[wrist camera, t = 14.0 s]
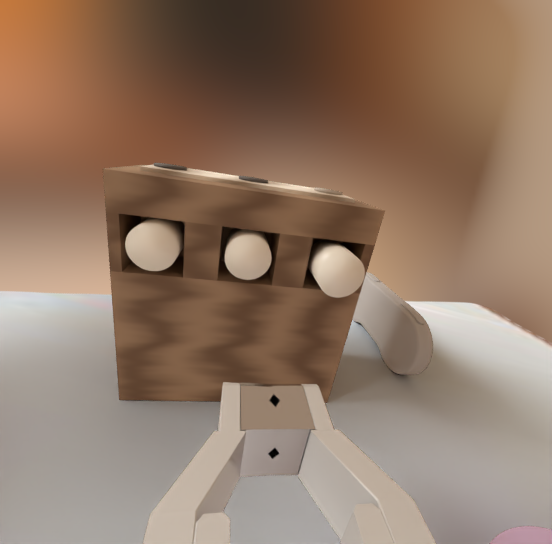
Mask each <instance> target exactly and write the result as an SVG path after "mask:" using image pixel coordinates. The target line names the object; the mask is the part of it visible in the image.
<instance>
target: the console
mask: <svg viewBox="0 0 552 544" xmlns="http://www.w3.org/2000/svg"><path fill="white" fill-rule="evenodd" d="M103 179H104V193H105V207H106V221H107V233H108V248H109V262H110V276H111V290H112V304H113V318H114V332H115V346H116V359H117V373H118V387H119V400H160V401H221V396H222V386H223V382H230V383H239V384H240V383H259V384H317V385H318V386H319V388H320V391H321V394H322V397H323V399H324V402H325V403H327V401H328V398H329V395H330V391H331V388H332V385H333V382H334V378H335V375H336V372H337V368H338V365H339V362H340V358H341V355H342V352H343V348H344V345H345V342H346V338H347V335H348V332H349V329H350V325H351V322H352V319H353V315H354V312H355V309H356V305H357V302H358V299H359V295H360V292H361V289H362V286H363V282H364V280H363V282H362V284H361V286H360V287H359V288H358V289H357V290H356V291H355V292H354V293H352V294H350V295H348V296H346V297H340V298H336V297H331V296H329V295H327V294H325V293H324V292H323V291H322V289H321V288H320V286H319V284H318V283H317V281H316V280H315V278H314V276H313V275H312V273H311V272H310V270H309V268H308V266H307V265H308V260H309V255H310V251H311V247H312V246H313V245H314V244H315V243H316V242H318V241H320V240H323V239H328V240H336V241H338V242H340V243H341V244H342V245H343V246H344V247H346V248H347V249H348V250H349V251H350V252H351V253H353V254H354V255H355V256H356V257H357V258H358V259H360V261H361V262H362V263H363V266H364V269H365V276H366V272H367V269H368V266H369V262H370V259H371V255H372V252H373V249H374V246H375V243H376V239H377V236H378V233H379V229H380V226H381V223H382V219H383V216H384V212H385V211H384V210H382V209H379V208H376V207H373V206H371V205H368V204H366V203H363V202H360V201H358V200H355V199H353V198H350V197H348V196H345V195H342V192H339V191H334V190H329V189H323V188H310V187H304V186H297V185H291V184H284V183H278V182H272V181H268V180H264V179H259V178H253V177H246V176H234V175H227V174H221V173H214V172H209V171H202V170H196V169H189V168H186V167H183V166H177V165H171V164H163V163H154V165H138V166H126V167H115V168H104V169H103ZM149 217H151V218H159V219H167V220H175V221H182V223H183V224H184V226H185V235H184V247H183V248H182V250H181V252H180V253H179V255H178V257H177V258H176V260H175V262H174V263H173V264H172V265H171V266H170V267H168V268H166V269H164V270H161V271H149V270H145V269H142V268H140V267H139V266H137V265H136V264H135V263H133V261H132V260H131V259H130V258H129V256H128V254H127V252H126V248H125V241H126V237H127V235H128V233H129V232H130V231H131V230H132V229H133V228H135V227H136V226H137V225H139V224H140V223H142V222H143V221H145V220H146V219H148V218H149ZM233 228H240V229H248V230H256V231H263V232H264V234H265V236H266V239H267V242H268V245H269V248H270V251H271V257H272V259H271V264H270V267H269V269H268V270H267V271H266V272H265V273H264V274H263V275H262V276H260V277H258V278H256V279H252V280H244V279H240V278H237V277H236V276H234V275H233V274H232V273H230V271H229V270H228V269H227V267H226V264H225V250H226V243H227V237H228V235H229V233H230V231H231V230H232V229H233ZM365 276H364V279H365Z"/></svg>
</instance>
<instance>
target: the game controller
mask: <svg viewBox="0 0 552 544" xmlns="http://www.w3.org/2000/svg"><path fill="white" fill-rule="evenodd" d="M353 320H354V321H355V322H358V323H361V324H362V326H363V327H364V328H365V329H366V331H367V332H368V333H369V335H370V336H371V337H372V339H373V340H374V341H375V342H376V344H377V345H378V347H379V350H380V353H381V356H382V358H383V361H384V362H385V364H386V365H387V367H388V368H389V369H390V370H391V371H393V372H395V373H397V374H402V375H415V374H419V373H421V372H423V371H424V370H425V369H426V368H427V366H428V365H429V363H430V360H431V357H432V351H433V341H432V335H431V332H430V329H429V326H428V324H427V323H426V321H425V320H424V318H423V317H422V316H421V315H420V314H419V313H418V312H417V311H416V310H415V309H414V308H412V307H411V306H410V305H409V304H407V303H406V302H405V301H404V300H402V299H401V298H400V297H399V296H398V295H396V294H395V293H394V292H393V291H392V290H391V289H389V288H388V287H387V286H386V285H385V284H383V283H382V282H381V281H380V280H379V279H378V278H377V277H375V276H374V275H373V274H371V273H367V272H366V276H365V279H364V282H363V286H362V289H361V292H360V295H359V299H358V302H357V305H356V309H355V312H354V315H353Z"/></svg>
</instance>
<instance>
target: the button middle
mask: <svg viewBox="0 0 552 544" xmlns="http://www.w3.org/2000/svg"><path fill="white" fill-rule="evenodd" d="M271 259H272V257H271V251H270V248H269V245H268V242H267V239H266V236H265V234H264V232H263V231H256V230H248V229H240V228H233V229H232V230H231V231H230V233H229V235H228V237H227V243H226V250H225V264H226V267H227V269H228V270H229V271H230V273H232V274H233V275H234V276H236V277H237V278H240V279H244V280H252V279H256V278H258V277H260V276H262V275H263V274H264V273H265V272H266V271H267V270H268V269H269V267H270V264H271Z"/></svg>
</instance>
